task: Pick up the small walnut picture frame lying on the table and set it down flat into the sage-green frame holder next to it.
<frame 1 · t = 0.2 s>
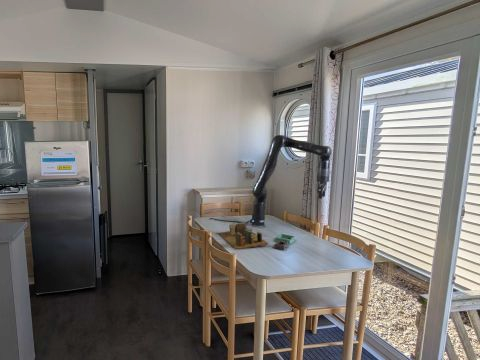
hand: (321, 197, 209), 29 cm above the table, tool pointing down, fingers open, 8 cm apart
holder: (285, 241, 206), on the table
frame: (281, 247, 194), on the table
brown tray with blocks: (242, 240, 207), on the table
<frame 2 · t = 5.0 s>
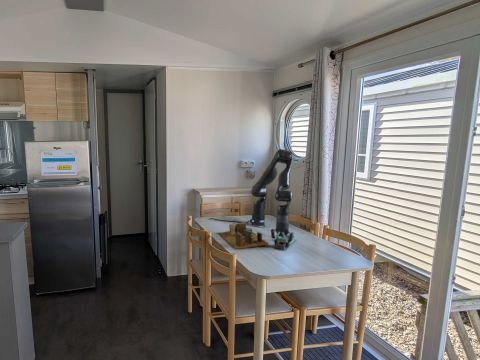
hand: (281, 246, 194), 1 cm above the table, tool pointing down, fingers closed on frame, 6 cm apart
frame: (281, 247, 194), on the table, touching gripper
everything else where it was.
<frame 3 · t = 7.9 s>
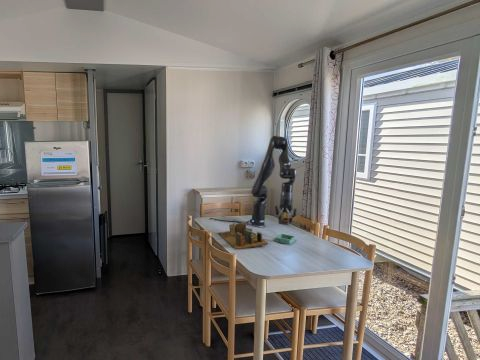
hand: (285, 221, 202), 14 cm above the table, tool pointing down, fingers closed on frame, 6 cm apart
frame: (285, 223, 202), point 13 cm above the table, touching gripper
everything else where it was.
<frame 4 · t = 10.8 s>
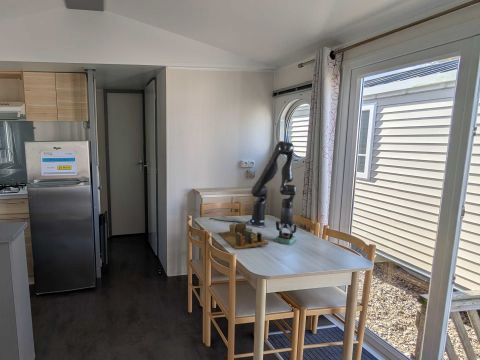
hand: (285, 237, 205), 3 cm above the table, tool pointing down, fingers closed on frame, 6 cm apart
frame: (285, 238, 205), point 2 cm above the table, touching gripper
everything else where it was.
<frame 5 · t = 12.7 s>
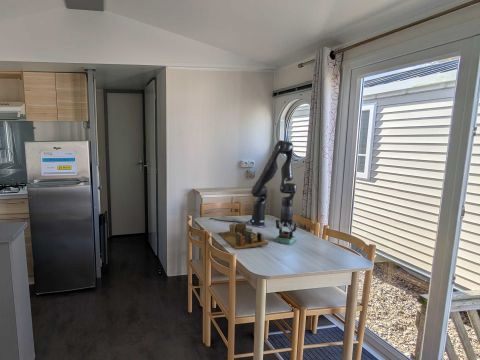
hand: (285, 235, 205), 4 cm above the table, tool pointing down, fingers closed on frame, 6 cm apart
frame: (285, 236, 205), point 3 cm above the table, touching gripper
everything else where it was.
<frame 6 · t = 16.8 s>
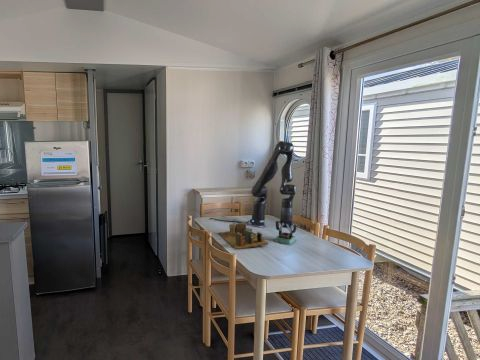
hand: (285, 236, 205), 3 cm above the table, tool pointing down, fingers closed on frame, 6 cm apart
frame: (285, 238, 205), point 2 cm above the table, touching gripper
everything else where it was.
when the fingers open (4 cm above the table, at t = 20.5 s): frame drops 2 cm, resting on holder.
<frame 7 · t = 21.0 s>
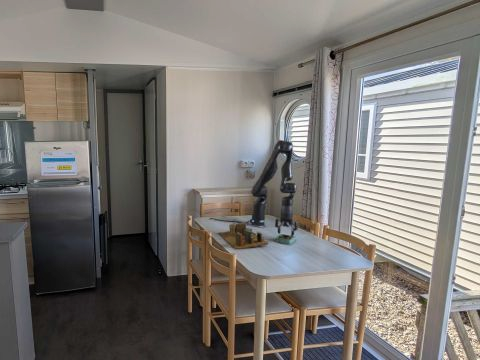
hand: (285, 234, 205), 5 cm above the table, tool pointing down, fingers open, 8 cm apart
frame: (285, 240, 206), resting on holder
everything else where it was.
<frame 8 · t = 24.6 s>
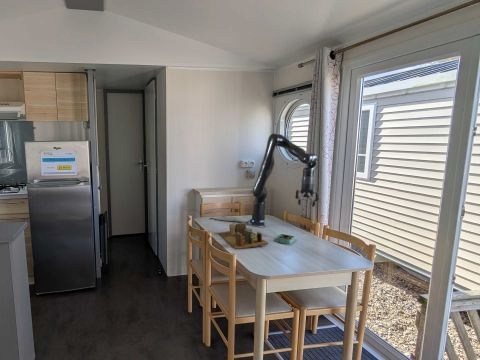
hand: (306, 205, 206), 24 cm above the table, tool pointing down, fingers open, 8 cm apart
nothing on the table moved.
at the end: frame 0.1 cm off-centre in the holder, point 0.5 cm above the holder's base; frame tilted 0°; the gripper is holding nothing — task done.
